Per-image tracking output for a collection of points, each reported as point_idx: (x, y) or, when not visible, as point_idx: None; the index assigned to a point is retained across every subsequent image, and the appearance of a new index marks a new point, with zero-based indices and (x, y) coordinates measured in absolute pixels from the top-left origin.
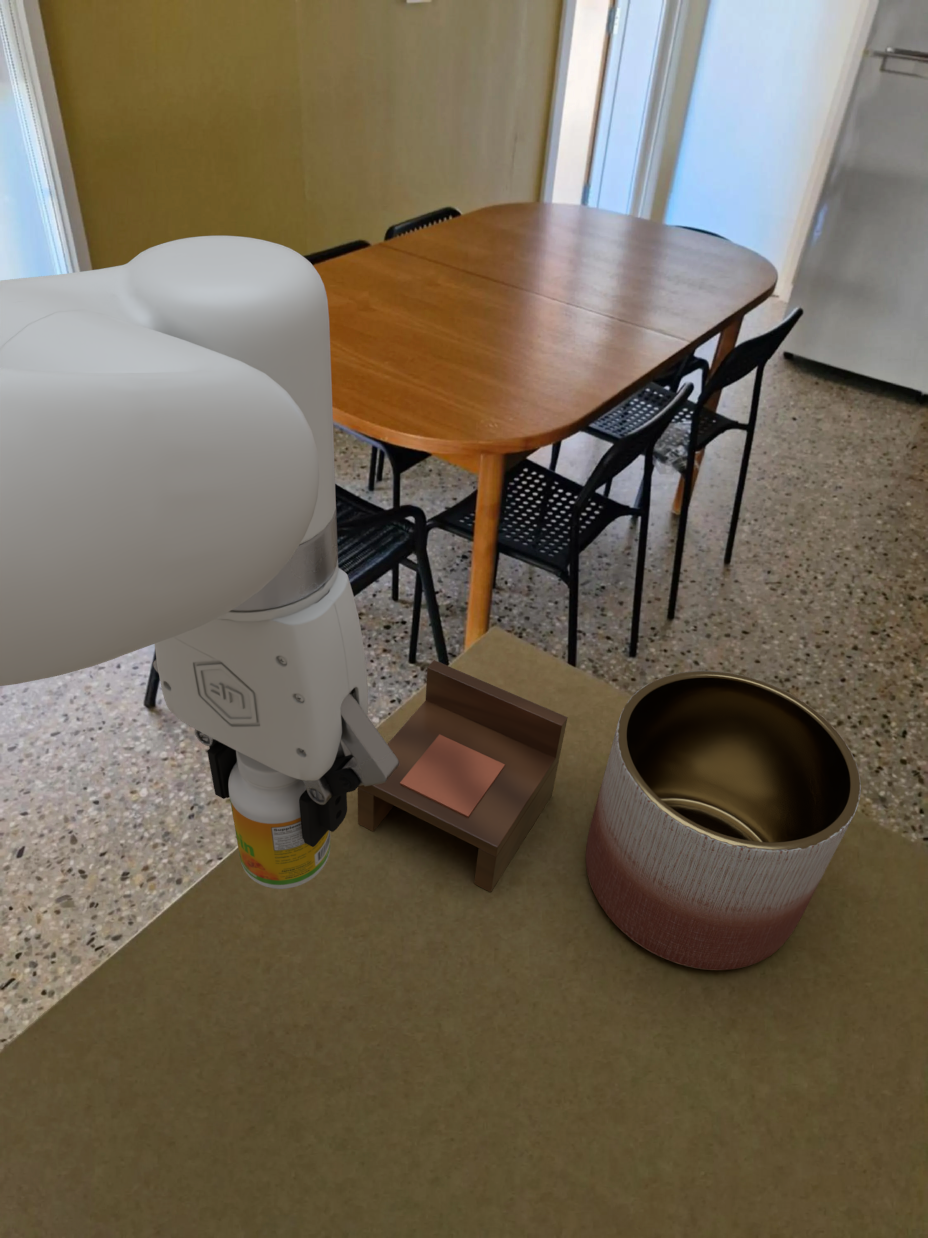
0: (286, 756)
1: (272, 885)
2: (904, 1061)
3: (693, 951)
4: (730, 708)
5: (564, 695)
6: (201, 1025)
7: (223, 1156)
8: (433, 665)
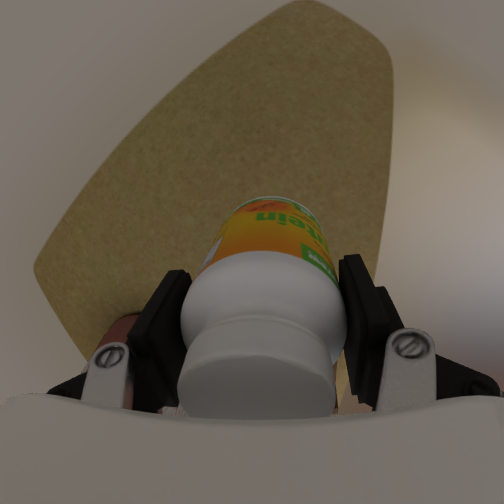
0: (11, 450)
1: (243, 204)
2: (62, 319)
3: (118, 325)
4: None
5: None
6: (315, 122)
7: (239, 77)
8: (335, 410)
